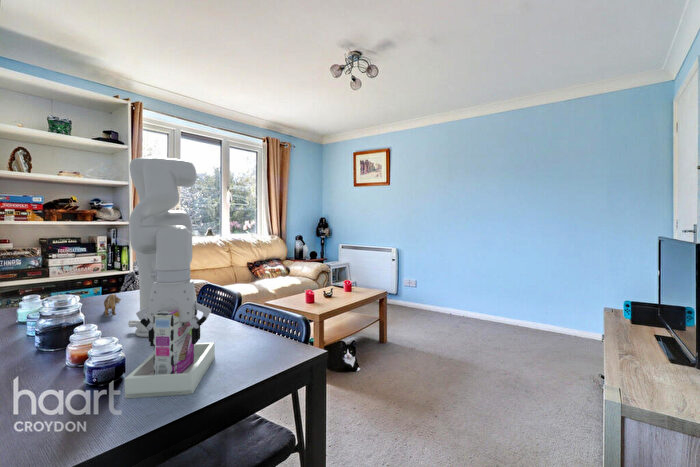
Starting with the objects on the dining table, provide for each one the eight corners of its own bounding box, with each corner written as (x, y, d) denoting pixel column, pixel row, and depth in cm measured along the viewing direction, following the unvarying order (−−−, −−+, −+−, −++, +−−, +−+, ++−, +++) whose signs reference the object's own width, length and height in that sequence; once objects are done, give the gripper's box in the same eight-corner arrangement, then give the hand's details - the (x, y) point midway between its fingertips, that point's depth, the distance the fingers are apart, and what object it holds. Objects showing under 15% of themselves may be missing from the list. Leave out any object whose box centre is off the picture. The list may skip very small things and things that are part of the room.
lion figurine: (122, 315, 137) (121, 293, 136) (106, 318, 133) (105, 296, 132) (114, 308, 147) (113, 288, 146) (99, 311, 143) (98, 290, 142)
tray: (125, 398, 74) (124, 378, 74) (162, 360, 94) (162, 344, 94) (192, 394, 76) (191, 374, 76) (214, 357, 96) (214, 342, 96)
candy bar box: (174, 382, 80) (172, 313, 79) (153, 382, 80) (151, 313, 79) (195, 362, 91) (194, 302, 90) (177, 362, 91) (175, 302, 90)
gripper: (128, 279, 79) (130, 351, 80) (205, 278, 81) (206, 347, 82) (143, 274, 86) (145, 339, 87) (213, 273, 89) (214, 336, 90)
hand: (175, 343), depth 85 cm, fingers open, 9 cm apart
